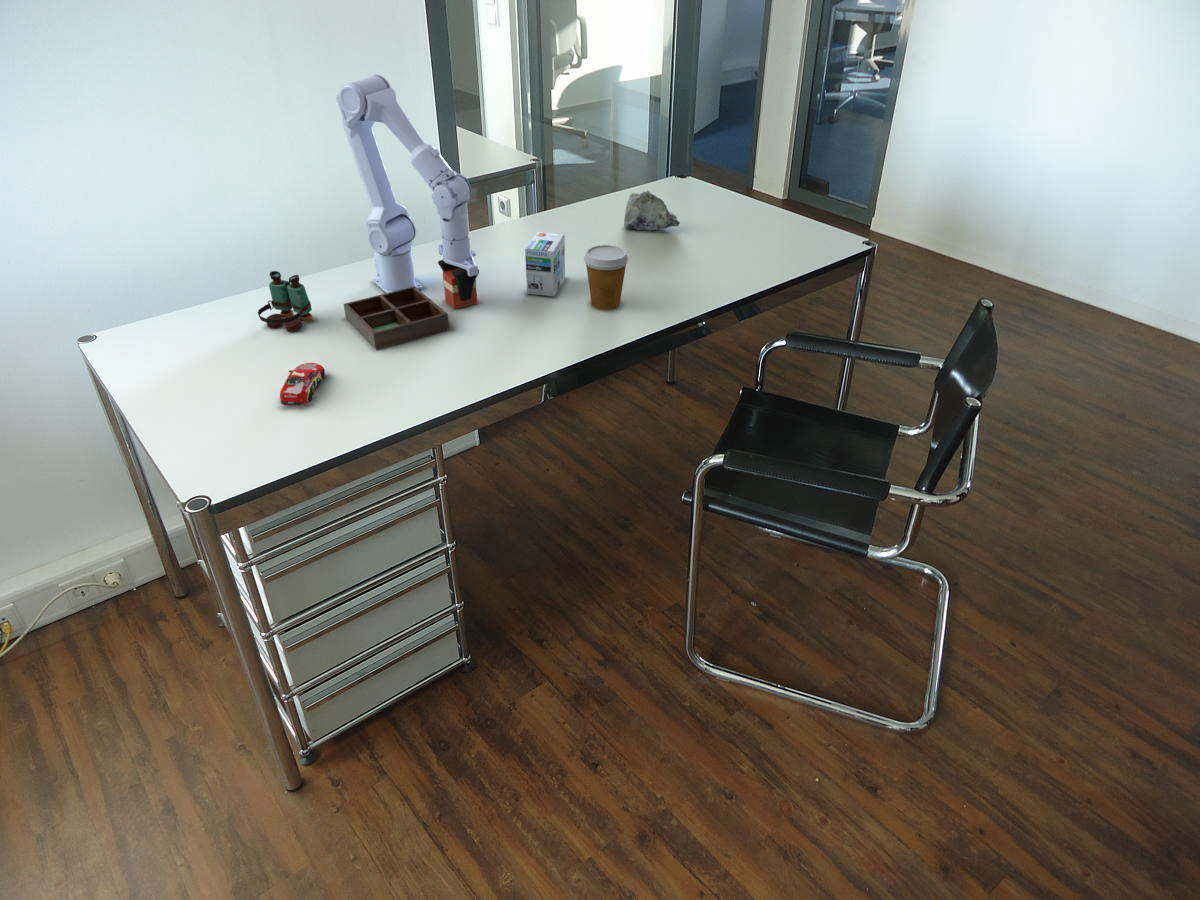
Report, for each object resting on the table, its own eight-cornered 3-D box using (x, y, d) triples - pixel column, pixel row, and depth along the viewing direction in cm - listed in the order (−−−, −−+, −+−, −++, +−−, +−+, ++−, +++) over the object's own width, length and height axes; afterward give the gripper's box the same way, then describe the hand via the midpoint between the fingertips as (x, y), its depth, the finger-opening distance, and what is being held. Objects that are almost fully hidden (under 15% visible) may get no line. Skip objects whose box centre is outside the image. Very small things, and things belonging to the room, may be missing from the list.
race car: (301, 371, 163) (297, 353, 161) (329, 372, 163) (325, 354, 161) (276, 408, 152) (271, 389, 150) (306, 409, 152) (302, 390, 150)
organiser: (346, 319, 181) (343, 303, 179) (416, 301, 188) (414, 286, 186) (376, 350, 170) (373, 334, 168) (449, 329, 178) (447, 313, 175)
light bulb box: (554, 297, 191) (554, 251, 184) (525, 294, 192) (523, 248, 185) (566, 278, 199) (565, 233, 193) (538, 275, 200) (536, 231, 194)
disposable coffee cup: (633, 299, 190) (635, 248, 183) (616, 317, 183) (617, 264, 176) (595, 291, 193) (595, 240, 186) (576, 308, 186) (576, 256, 179)
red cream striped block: (445, 301, 188) (442, 272, 184) (468, 295, 191) (465, 266, 187) (454, 309, 185) (451, 279, 181) (477, 303, 188) (475, 273, 184)
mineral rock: (681, 231, 224) (684, 193, 218) (652, 242, 218) (654, 203, 212) (646, 218, 231) (648, 181, 226) (617, 227, 225) (618, 190, 220)
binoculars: (242, 289, 170) (272, 265, 177) (257, 334, 176) (286, 309, 184) (280, 296, 167) (309, 271, 174) (294, 341, 174) (322, 316, 181)
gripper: (489, 242, 176) (493, 303, 184) (457, 221, 186) (462, 279, 194) (458, 250, 173) (463, 311, 181) (427, 227, 183) (433, 286, 190)
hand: (460, 295), depth 187 cm, fingers closed on red cream striped block, 4 cm apart
